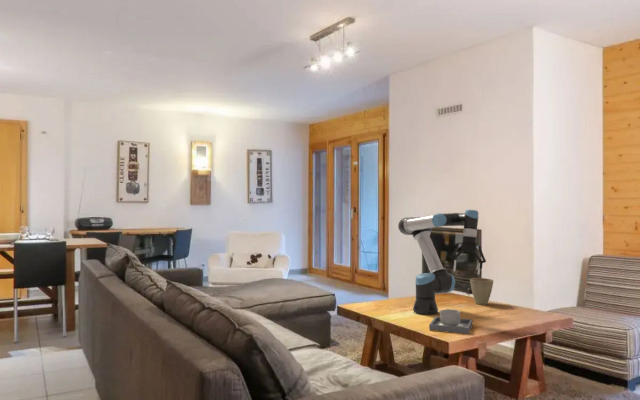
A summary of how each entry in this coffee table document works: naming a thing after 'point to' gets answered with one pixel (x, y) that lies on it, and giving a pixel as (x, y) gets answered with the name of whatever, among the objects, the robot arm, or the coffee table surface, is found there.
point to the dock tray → (460, 328)
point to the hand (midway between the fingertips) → (466, 272)
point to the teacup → (450, 317)
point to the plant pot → (481, 289)
